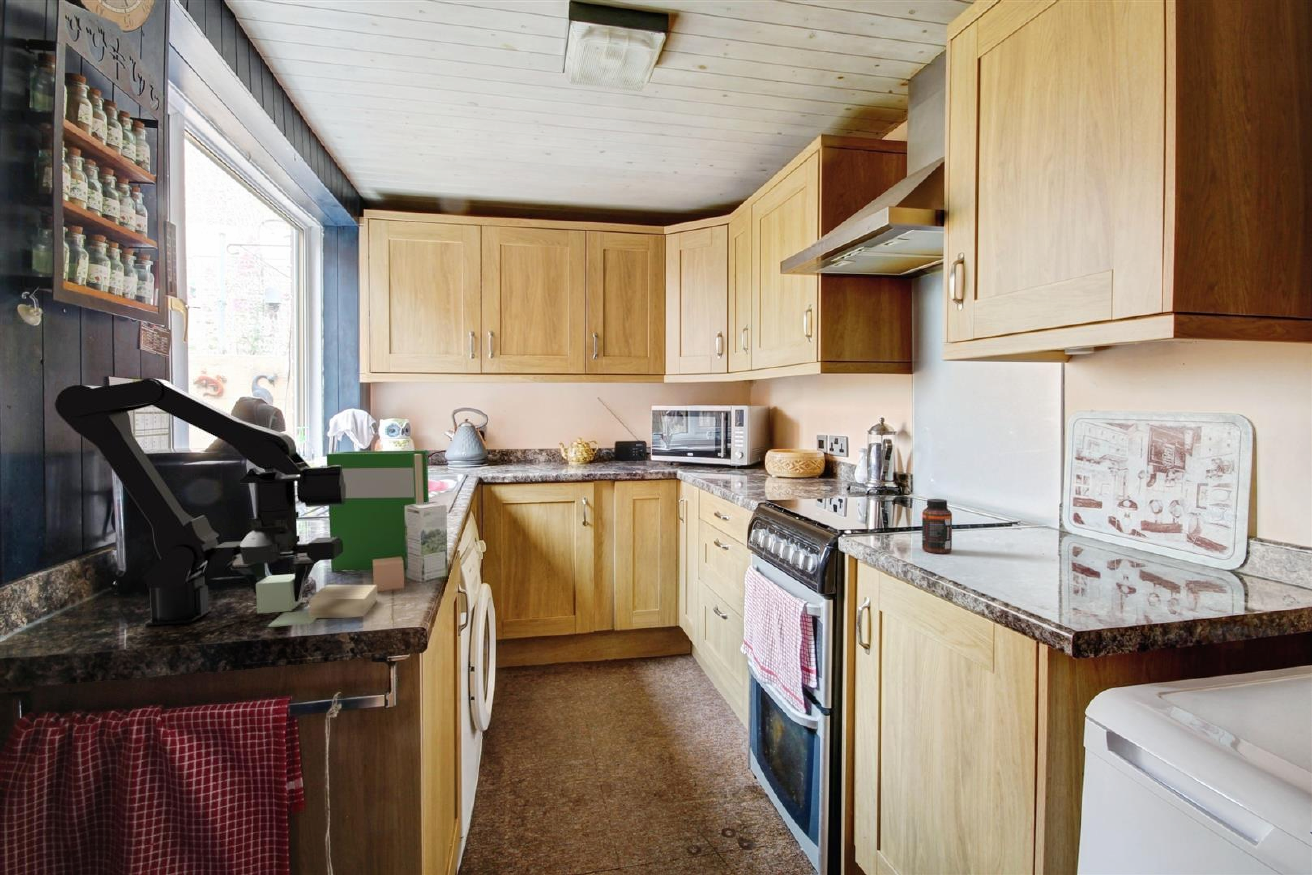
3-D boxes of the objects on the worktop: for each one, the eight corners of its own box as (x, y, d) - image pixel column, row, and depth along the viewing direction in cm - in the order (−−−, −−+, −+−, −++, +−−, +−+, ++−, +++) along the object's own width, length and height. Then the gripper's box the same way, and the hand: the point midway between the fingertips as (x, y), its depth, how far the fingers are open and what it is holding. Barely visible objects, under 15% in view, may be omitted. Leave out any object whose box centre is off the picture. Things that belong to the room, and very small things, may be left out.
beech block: (308, 617, 98) (309, 598, 98) (325, 602, 106) (326, 584, 106) (363, 617, 100) (364, 598, 99) (376, 602, 107) (377, 584, 107)
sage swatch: (268, 627, 95) (268, 625, 95) (284, 615, 101) (283, 612, 101) (311, 624, 96) (311, 622, 96) (324, 612, 102) (324, 609, 102)
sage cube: (257, 614, 102) (255, 583, 101) (270, 604, 107) (268, 575, 106) (290, 612, 103) (289, 581, 102) (302, 602, 108) (301, 573, 107)
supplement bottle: (956, 554, 135) (957, 501, 134) (928, 554, 135) (929, 502, 134) (944, 547, 141) (944, 497, 140) (917, 548, 141) (917, 498, 140)
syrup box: (432, 572, 126) (430, 500, 126) (449, 577, 123) (446, 503, 122) (405, 578, 122) (403, 504, 121) (422, 583, 118) (419, 507, 117)
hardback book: (430, 561, 135) (427, 450, 134) (416, 570, 128) (412, 452, 127) (350, 562, 136) (345, 451, 135) (331, 571, 129) (326, 454, 127)
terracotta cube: (374, 593, 113) (373, 565, 113) (373, 586, 117) (372, 559, 117) (404, 589, 115) (403, 562, 115) (402, 582, 120) (401, 556, 119)
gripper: (185, 520, 94) (191, 622, 95) (320, 514, 98) (324, 613, 98) (222, 508, 105) (226, 600, 106) (342, 503, 109) (345, 593, 109)
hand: (280, 602), depth 105 cm, fingers closed on sage cube, 5 cm apart
